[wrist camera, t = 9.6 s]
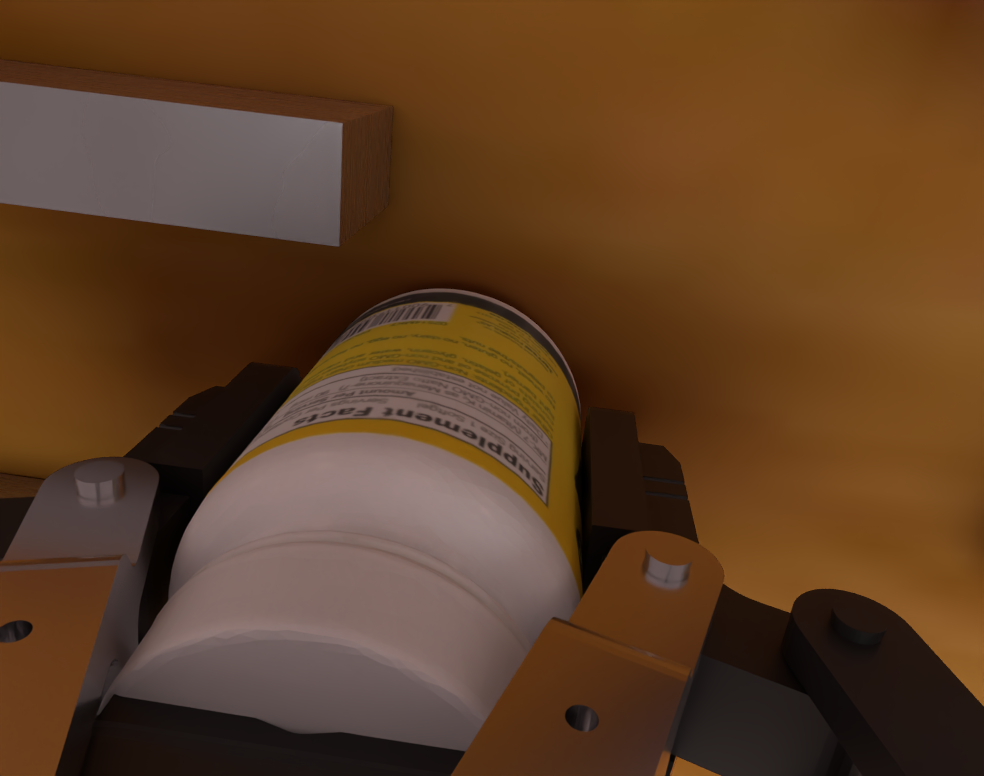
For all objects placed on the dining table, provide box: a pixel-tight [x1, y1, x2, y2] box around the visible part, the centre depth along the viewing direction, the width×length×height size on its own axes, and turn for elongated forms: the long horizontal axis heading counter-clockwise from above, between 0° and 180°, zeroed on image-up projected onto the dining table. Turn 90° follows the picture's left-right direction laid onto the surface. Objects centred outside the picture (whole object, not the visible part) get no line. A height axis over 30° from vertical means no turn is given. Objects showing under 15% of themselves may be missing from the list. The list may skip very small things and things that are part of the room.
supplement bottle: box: [97, 289, 583, 751], centre depth 11 cm, size 5×5×8 cm
